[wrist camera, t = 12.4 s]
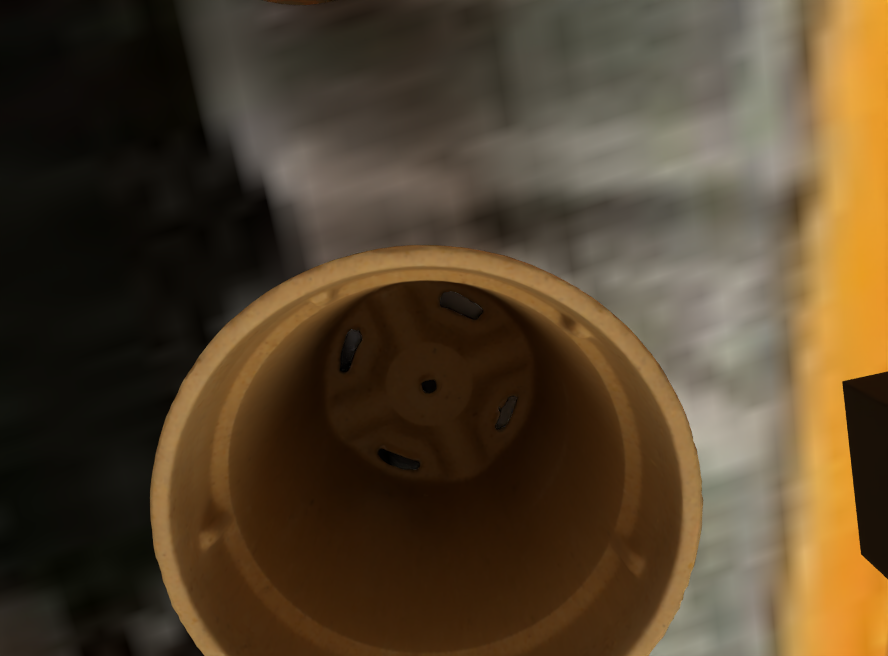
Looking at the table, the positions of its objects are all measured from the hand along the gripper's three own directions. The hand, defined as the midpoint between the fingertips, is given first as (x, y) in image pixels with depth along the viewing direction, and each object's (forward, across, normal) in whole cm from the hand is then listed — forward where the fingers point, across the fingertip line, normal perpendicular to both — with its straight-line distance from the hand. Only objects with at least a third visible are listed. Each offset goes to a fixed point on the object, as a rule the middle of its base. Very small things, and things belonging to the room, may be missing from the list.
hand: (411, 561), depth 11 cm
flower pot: (+11, 0, 0) cm, 11 cm away
